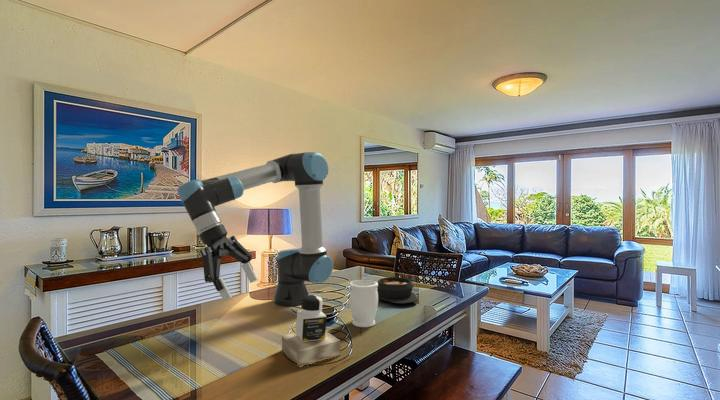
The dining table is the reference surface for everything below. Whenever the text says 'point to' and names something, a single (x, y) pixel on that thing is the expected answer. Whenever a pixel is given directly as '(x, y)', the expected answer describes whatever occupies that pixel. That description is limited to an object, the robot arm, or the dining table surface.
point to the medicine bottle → (311, 319)
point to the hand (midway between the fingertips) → (241, 289)
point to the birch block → (310, 348)
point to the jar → (363, 302)
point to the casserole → (396, 290)
